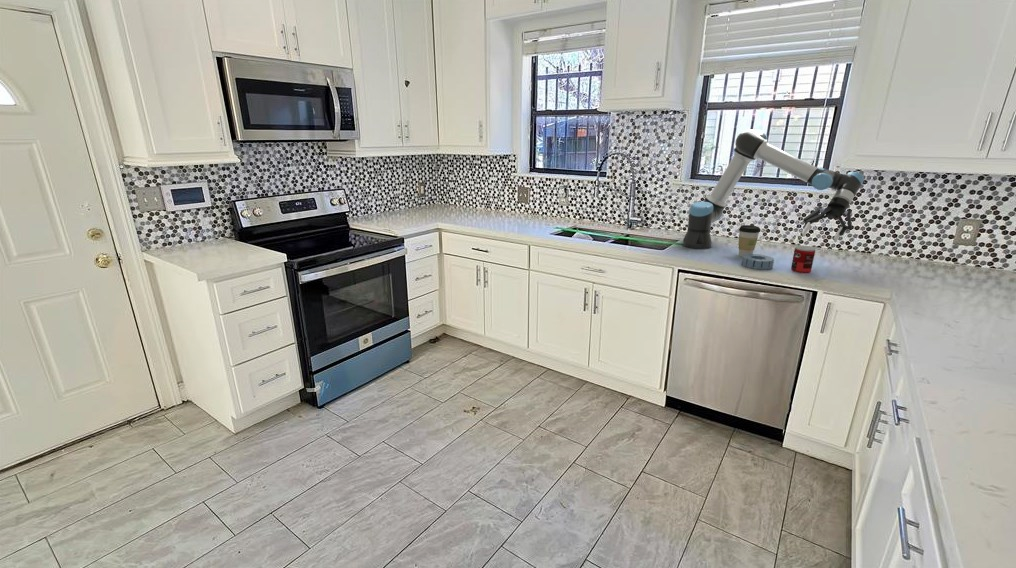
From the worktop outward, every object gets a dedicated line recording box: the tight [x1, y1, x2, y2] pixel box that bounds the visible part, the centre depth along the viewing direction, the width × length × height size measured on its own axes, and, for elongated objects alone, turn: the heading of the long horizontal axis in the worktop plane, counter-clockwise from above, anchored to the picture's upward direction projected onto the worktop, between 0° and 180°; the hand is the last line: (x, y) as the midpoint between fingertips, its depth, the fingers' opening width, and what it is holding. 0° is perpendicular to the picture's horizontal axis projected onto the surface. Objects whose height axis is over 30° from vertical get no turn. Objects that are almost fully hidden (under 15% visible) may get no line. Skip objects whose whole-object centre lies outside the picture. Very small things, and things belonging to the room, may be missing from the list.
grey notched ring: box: [741, 253, 775, 271], centre depth 221 cm, size 13×13×4 cm
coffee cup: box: [738, 224, 761, 258], centre depth 236 cm, size 10×10×15 cm
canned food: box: [790, 245, 816, 274], centre depth 211 cm, size 8×8×11 cm
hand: (818, 237), depth 214 cm, fingers open, 13 cm apart
